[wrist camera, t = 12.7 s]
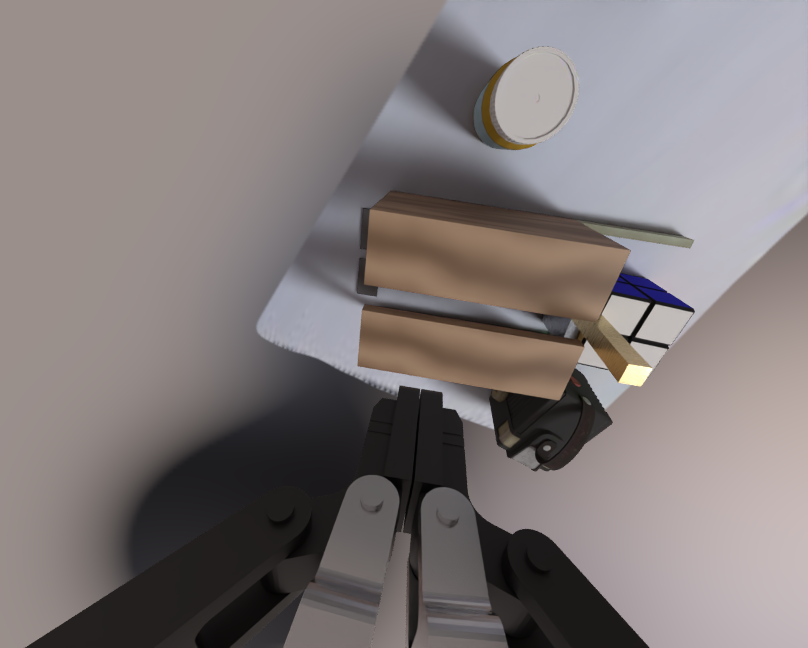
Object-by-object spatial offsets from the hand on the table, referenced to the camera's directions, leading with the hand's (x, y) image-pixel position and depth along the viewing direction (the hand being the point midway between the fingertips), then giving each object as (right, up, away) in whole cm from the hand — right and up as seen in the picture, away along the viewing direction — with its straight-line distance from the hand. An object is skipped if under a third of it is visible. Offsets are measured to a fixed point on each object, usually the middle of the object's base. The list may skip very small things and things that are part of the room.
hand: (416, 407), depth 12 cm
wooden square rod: (+22, +8, +35) cm, 42 cm away
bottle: (+11, +27, +26) cm, 40 cm away
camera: (+21, -7, +44) cm, 49 cm away
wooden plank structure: (+14, +10, +35) cm, 39 cm away
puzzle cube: (+27, +6, +36) cm, 46 cm away
